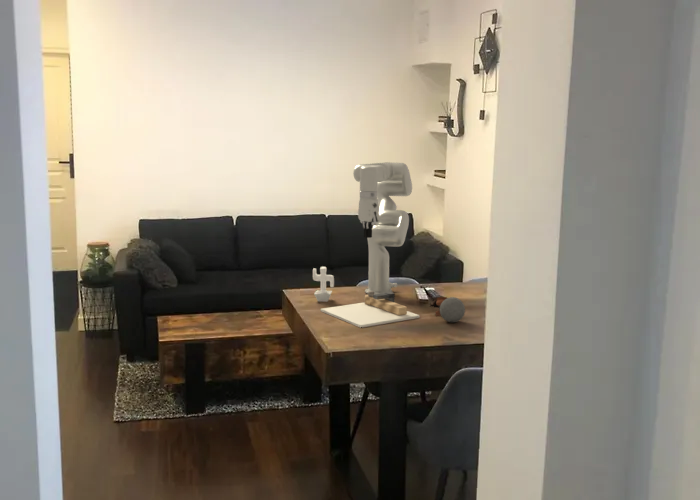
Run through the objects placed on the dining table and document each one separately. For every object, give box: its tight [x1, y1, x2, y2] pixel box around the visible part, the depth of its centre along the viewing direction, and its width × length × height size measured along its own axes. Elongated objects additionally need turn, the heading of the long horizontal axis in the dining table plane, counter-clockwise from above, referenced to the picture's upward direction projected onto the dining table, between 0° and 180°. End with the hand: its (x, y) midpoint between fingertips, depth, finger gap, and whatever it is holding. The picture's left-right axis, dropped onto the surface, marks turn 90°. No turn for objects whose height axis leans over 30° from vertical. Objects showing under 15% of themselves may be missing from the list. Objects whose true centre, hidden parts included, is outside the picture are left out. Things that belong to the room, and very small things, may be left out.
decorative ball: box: [440, 296, 466, 323], centre depth 301 cm, size 10×10×10 cm
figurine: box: [312, 266, 335, 303], centre depth 335 cm, size 7×9×15 cm
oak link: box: [364, 291, 408, 315], centre depth 318 cm, size 25×6×5 cm, turn 34°
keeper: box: [373, 291, 395, 303], centre depth 320 cm, size 9×3×6 cm, turn 123°
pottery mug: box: [429, 296, 448, 317], centre depth 314 cm, size 12×10×8 cm
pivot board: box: [320, 301, 420, 329], centre depth 313 cm, size 29×30×1 cm
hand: (367, 237), depth 327 cm, fingers closed
